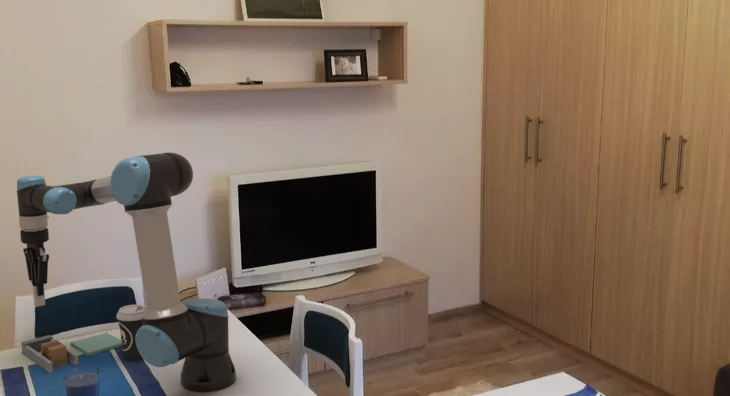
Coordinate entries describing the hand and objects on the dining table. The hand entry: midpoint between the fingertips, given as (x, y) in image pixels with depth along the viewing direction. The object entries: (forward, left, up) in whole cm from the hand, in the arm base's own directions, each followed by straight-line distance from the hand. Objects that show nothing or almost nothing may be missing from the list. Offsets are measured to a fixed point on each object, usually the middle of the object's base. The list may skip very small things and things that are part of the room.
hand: (39, 305), depth 211 cm
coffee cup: (-21, -19, -16) cm, 32 cm away
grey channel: (-5, 0, -16) cm, 16 cm away
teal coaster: (-5, -15, -16) cm, 22 cm away
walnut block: (-8, 0, -16) cm, 18 cm away
